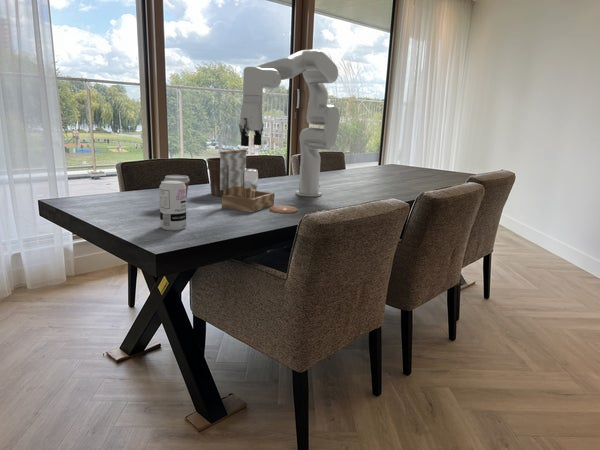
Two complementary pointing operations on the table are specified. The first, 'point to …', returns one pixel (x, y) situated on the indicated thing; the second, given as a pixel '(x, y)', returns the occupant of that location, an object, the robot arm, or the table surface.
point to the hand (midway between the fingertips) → (251, 145)
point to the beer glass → (249, 183)
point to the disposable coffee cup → (179, 179)
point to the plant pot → (215, 176)
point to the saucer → (283, 209)
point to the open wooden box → (239, 184)
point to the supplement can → (172, 205)
